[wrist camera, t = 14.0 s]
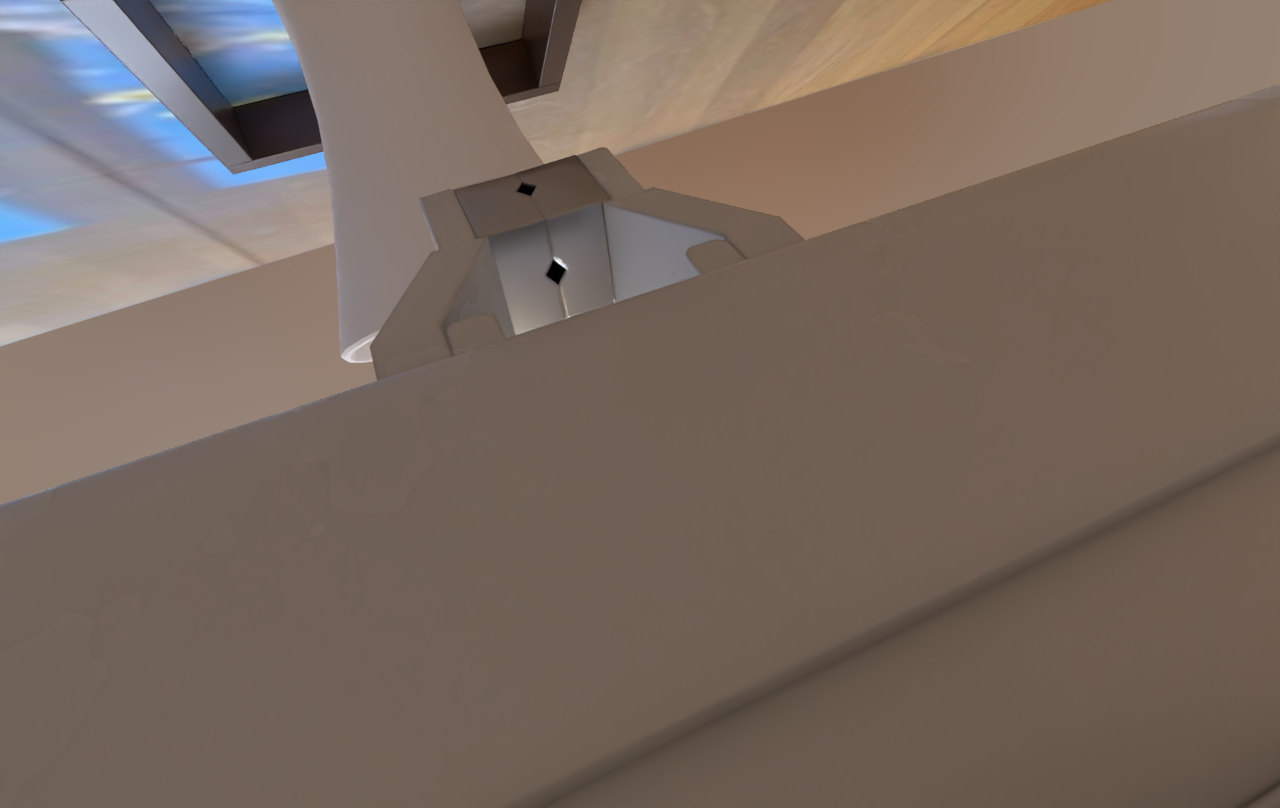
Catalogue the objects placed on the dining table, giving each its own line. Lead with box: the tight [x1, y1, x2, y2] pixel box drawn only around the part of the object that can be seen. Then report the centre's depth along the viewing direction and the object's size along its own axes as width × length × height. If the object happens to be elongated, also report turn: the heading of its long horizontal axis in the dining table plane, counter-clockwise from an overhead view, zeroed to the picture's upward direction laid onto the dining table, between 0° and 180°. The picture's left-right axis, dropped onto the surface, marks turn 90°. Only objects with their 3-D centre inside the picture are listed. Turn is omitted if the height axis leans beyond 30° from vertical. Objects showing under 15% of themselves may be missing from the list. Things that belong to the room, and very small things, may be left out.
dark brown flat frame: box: [60, 0, 582, 174], centre depth 27 cm, size 16×14×2 cm
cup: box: [272, 0, 544, 362], centre depth 26 cm, size 10×10×14 cm
